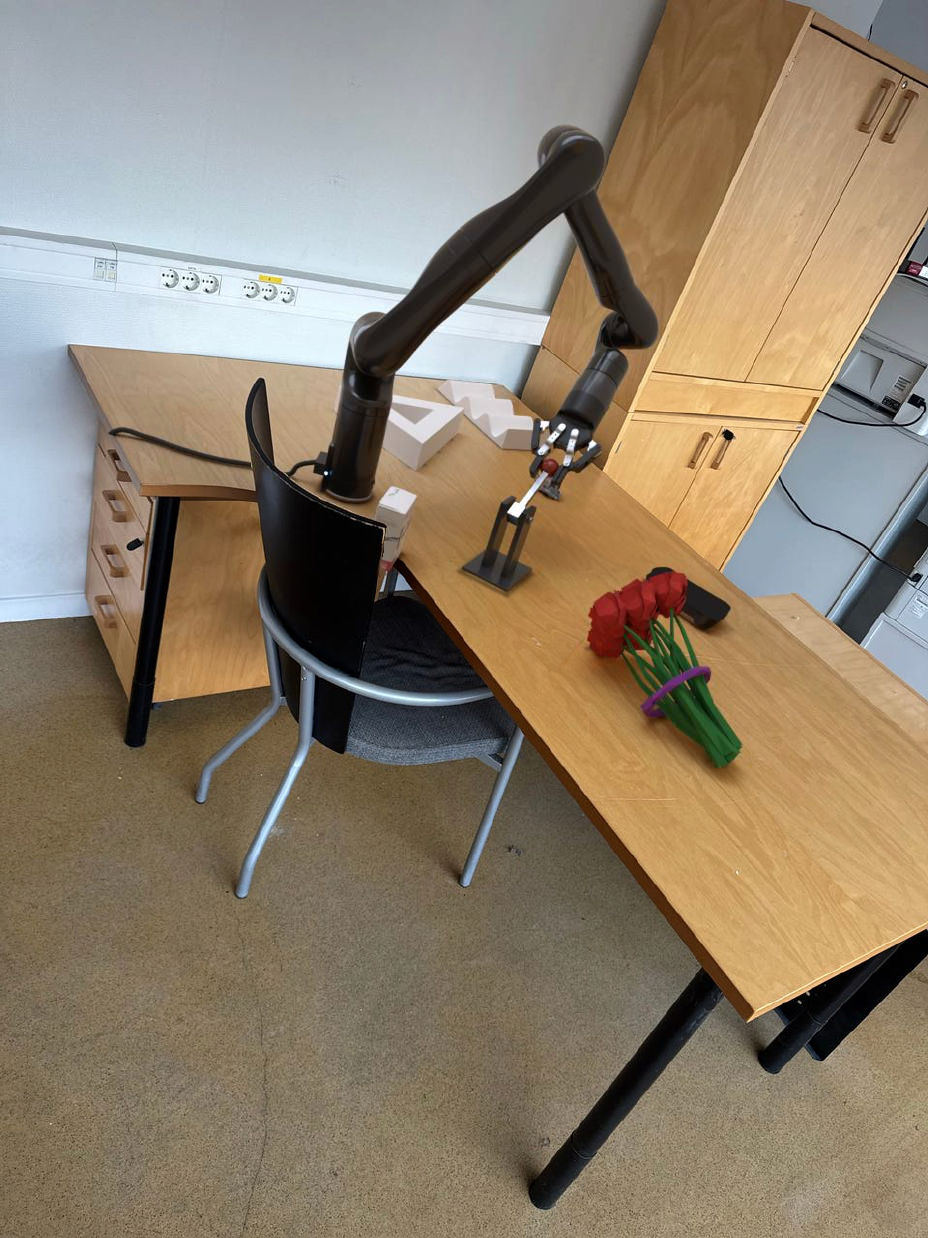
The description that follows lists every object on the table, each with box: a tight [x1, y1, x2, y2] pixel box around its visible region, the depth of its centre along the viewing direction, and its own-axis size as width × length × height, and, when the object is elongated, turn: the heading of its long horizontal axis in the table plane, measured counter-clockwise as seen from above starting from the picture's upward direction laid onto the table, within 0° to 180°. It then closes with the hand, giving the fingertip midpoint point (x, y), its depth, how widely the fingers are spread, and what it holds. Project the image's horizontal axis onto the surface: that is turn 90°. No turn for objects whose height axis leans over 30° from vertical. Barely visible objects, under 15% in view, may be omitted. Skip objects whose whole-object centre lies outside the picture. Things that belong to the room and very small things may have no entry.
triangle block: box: [333, 384, 465, 472], centre depth 192 cm, size 30×26×6 cm
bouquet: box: [586, 570, 743, 769], centre depth 125 cm, size 20×16×30 cm
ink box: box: [373, 485, 418, 573], centre depth 140 cm, size 9×5×12 cm, turn 168°
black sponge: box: [645, 566, 732, 630], centre depth 157 cm, size 16×8×4 cm, turn 46°
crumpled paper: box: [533, 472, 562, 500], centre depth 184 cm, size 4×8×7 cm, turn 30°
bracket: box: [461, 495, 538, 593], centre depth 146 cm, size 11×9×14 cm
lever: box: [506, 458, 560, 527], centre depth 146 cm, size 15×3×3 cm, turn 153°
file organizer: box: [437, 379, 550, 451], centre depth 215 cm, size 13×35×5 cm, turn 28°
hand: (542, 480), depth 148 cm, fingers closed on lever, 3 cm apart
